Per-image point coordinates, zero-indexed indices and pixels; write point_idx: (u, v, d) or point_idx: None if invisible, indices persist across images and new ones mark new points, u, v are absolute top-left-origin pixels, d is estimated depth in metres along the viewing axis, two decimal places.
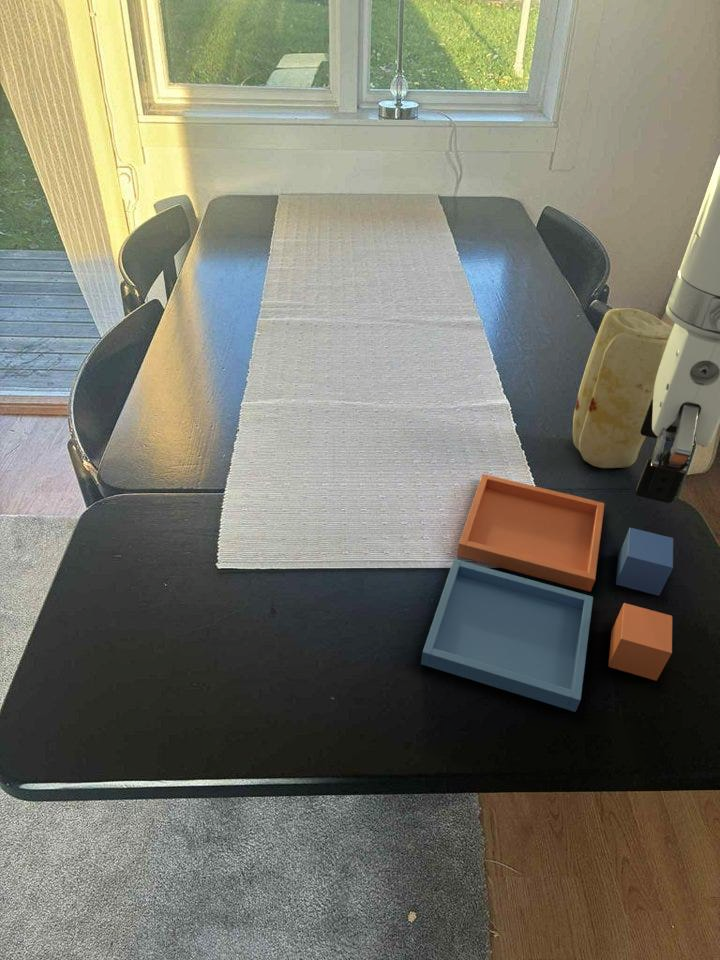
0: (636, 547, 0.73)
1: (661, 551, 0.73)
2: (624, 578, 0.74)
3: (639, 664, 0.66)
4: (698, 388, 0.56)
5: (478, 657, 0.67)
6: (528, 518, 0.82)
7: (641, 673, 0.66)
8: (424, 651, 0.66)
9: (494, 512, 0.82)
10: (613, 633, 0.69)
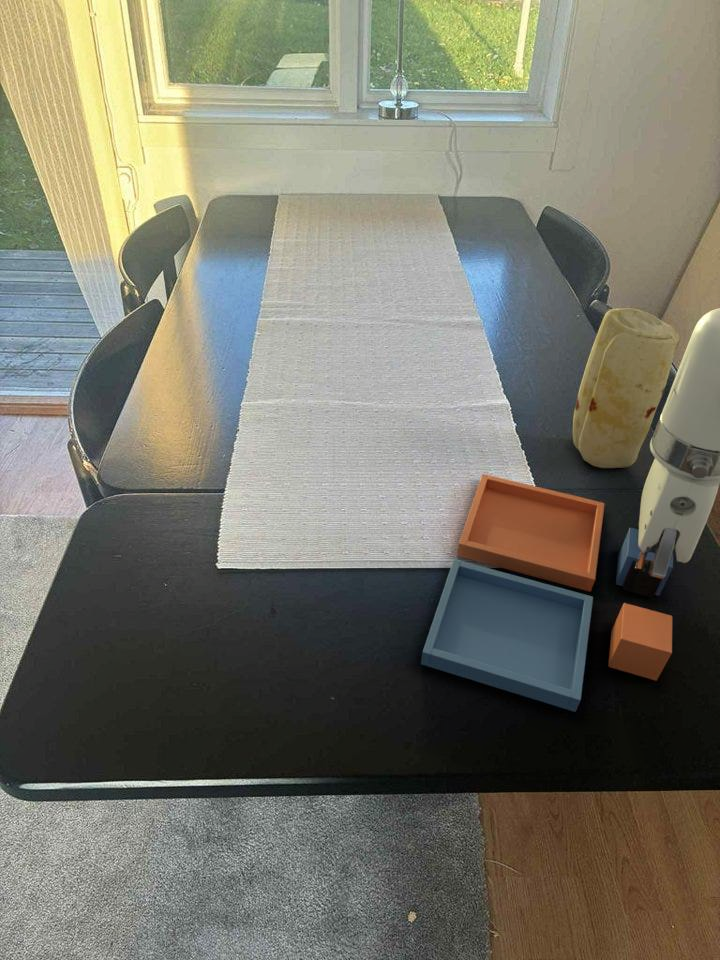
0: (636, 547, 0.73)
1: None
2: (624, 578, 0.74)
3: (639, 664, 0.66)
4: (677, 518, 0.64)
5: (478, 657, 0.67)
6: (528, 518, 0.82)
7: (641, 673, 0.66)
8: (424, 651, 0.66)
9: (494, 512, 0.82)
10: (613, 633, 0.69)
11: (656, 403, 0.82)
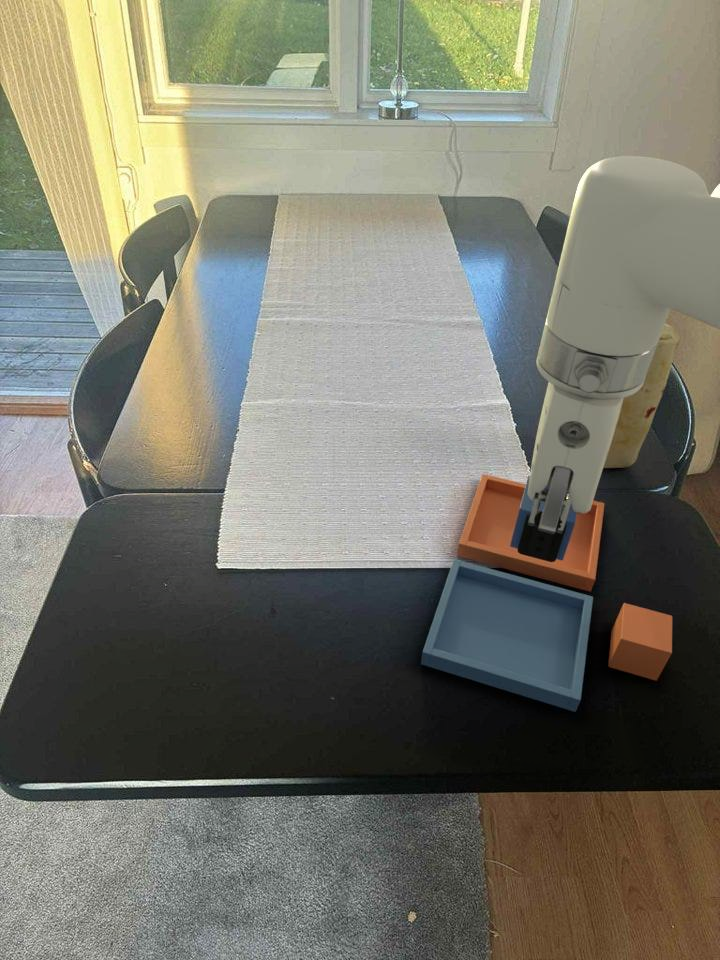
0: None
1: None
2: (519, 538, 0.59)
3: (639, 664, 0.66)
4: (568, 451, 0.49)
5: (478, 657, 0.67)
6: None
7: (641, 673, 0.66)
8: (424, 651, 0.66)
9: (494, 512, 0.82)
10: (613, 633, 0.69)
11: (656, 403, 0.82)
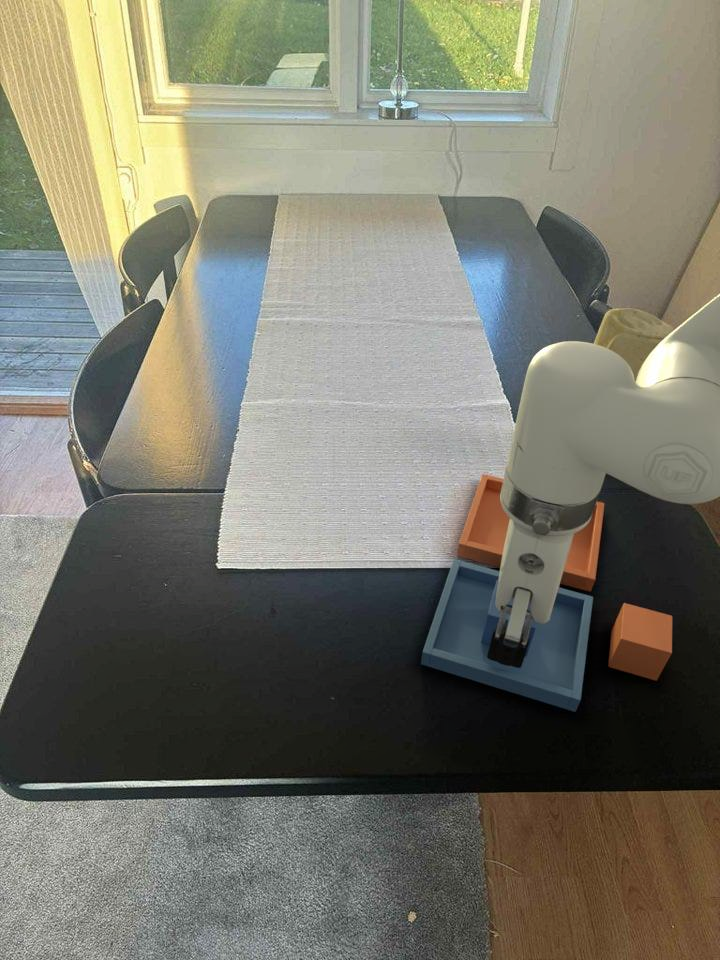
0: None
1: None
2: (488, 637, 0.67)
3: (639, 664, 0.66)
4: (527, 576, 0.57)
5: (478, 657, 0.67)
6: None
7: (641, 673, 0.66)
8: (424, 651, 0.66)
9: (494, 512, 0.82)
10: (613, 633, 0.69)
11: None
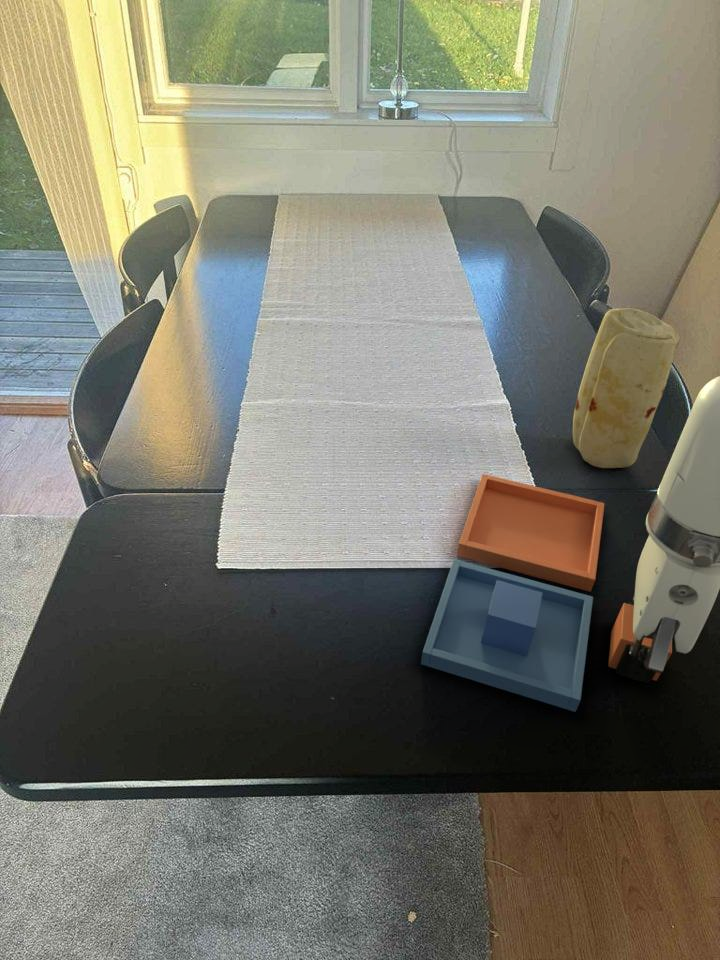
0: (499, 604, 0.66)
1: (526, 608, 0.66)
2: (488, 637, 0.67)
3: None
4: (677, 607, 0.56)
5: (478, 657, 0.67)
6: (528, 518, 0.82)
7: None
8: (424, 651, 0.66)
9: (494, 512, 0.82)
10: (613, 633, 0.69)
11: (656, 403, 0.82)
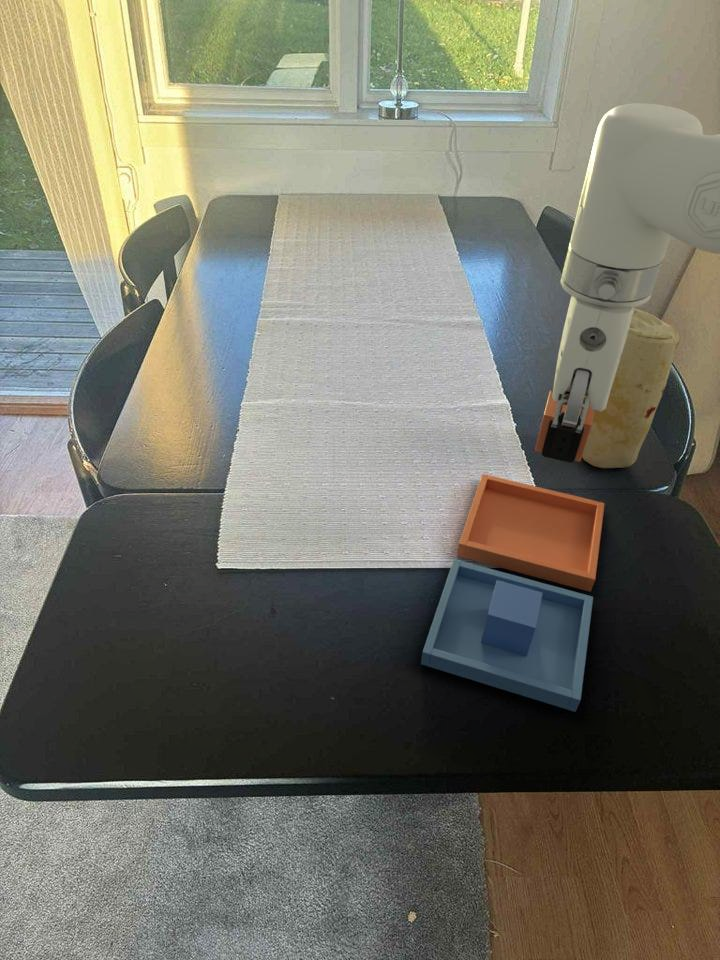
0: (499, 604, 0.66)
1: (526, 608, 0.66)
2: (488, 637, 0.67)
3: None
4: (588, 354, 0.59)
5: (478, 657, 0.67)
6: (528, 518, 0.82)
7: None
8: (424, 651, 0.66)
9: (494, 512, 0.82)
10: None
11: (656, 403, 0.82)
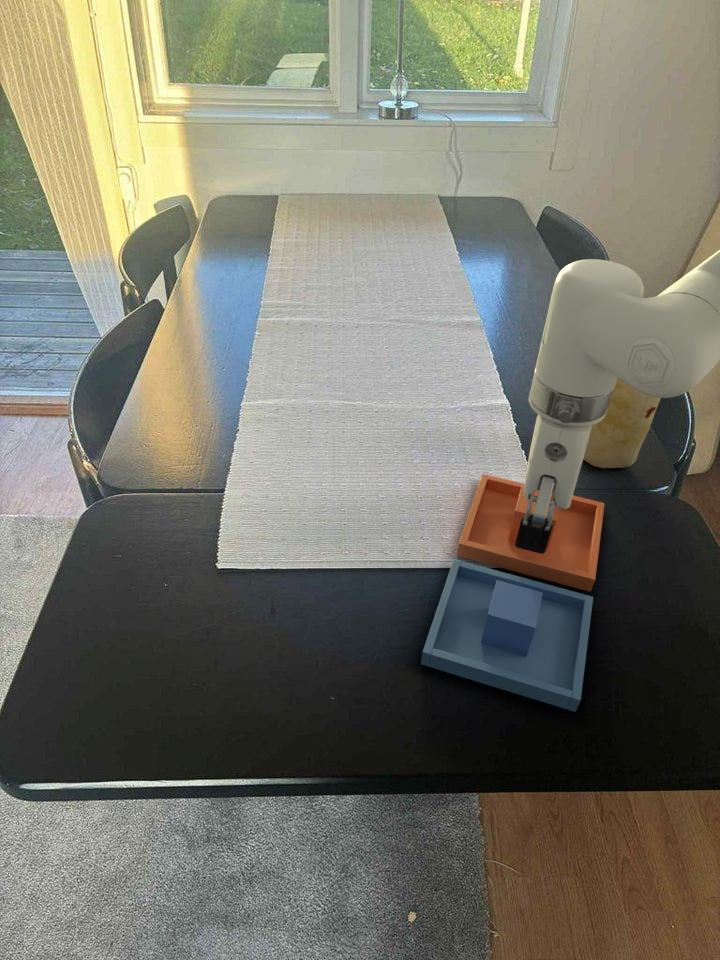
0: (499, 604, 0.66)
1: (526, 608, 0.66)
2: (488, 637, 0.67)
3: None
4: (552, 464, 0.67)
5: (478, 657, 0.67)
6: None
7: None
8: (424, 651, 0.66)
9: (494, 512, 0.82)
10: None
11: (656, 403, 0.82)
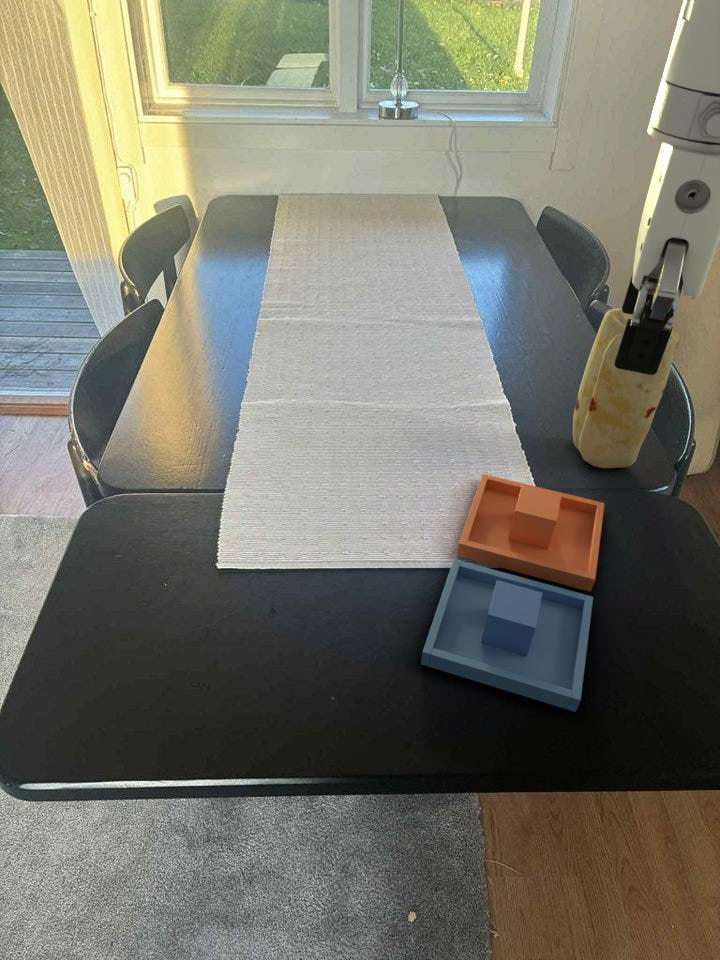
0: (499, 604, 0.66)
1: (526, 608, 0.66)
2: (488, 637, 0.67)
3: (532, 534, 0.77)
4: (685, 218, 0.47)
5: (478, 657, 0.67)
6: None
7: (535, 543, 0.78)
8: (424, 651, 0.66)
9: (494, 512, 0.82)
10: None
11: (656, 403, 0.82)
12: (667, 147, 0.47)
